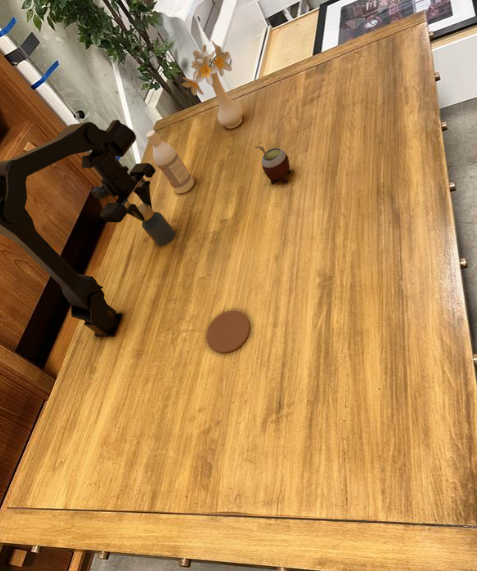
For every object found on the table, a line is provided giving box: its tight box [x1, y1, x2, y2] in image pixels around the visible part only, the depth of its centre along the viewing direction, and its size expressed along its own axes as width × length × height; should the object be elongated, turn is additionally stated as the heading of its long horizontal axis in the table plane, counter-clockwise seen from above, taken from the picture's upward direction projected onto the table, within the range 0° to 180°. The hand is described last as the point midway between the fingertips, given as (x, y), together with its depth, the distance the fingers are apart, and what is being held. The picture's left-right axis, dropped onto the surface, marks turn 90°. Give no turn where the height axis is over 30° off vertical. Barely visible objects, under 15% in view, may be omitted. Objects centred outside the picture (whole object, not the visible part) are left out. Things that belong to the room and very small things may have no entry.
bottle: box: [141, 211, 176, 247], centre depth 108 cm, size 6×6×11 cm
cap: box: [137, 202, 155, 221], centre depth 105 cm, size 4×4×3 cm
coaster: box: [206, 310, 251, 354], centre depth 84 cm, size 10×10×1 cm
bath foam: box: [145, 129, 195, 194], centre depth 116 cm, size 7×7×20 cm
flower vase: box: [181, 39, 244, 130], centre depth 124 cm, size 13×18×25 cm
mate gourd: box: [255, 145, 292, 185], centre depth 101 cm, size 8×8×15 cm
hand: (147, 214), depth 106 cm, fingers closed on cap, 4 cm apart
